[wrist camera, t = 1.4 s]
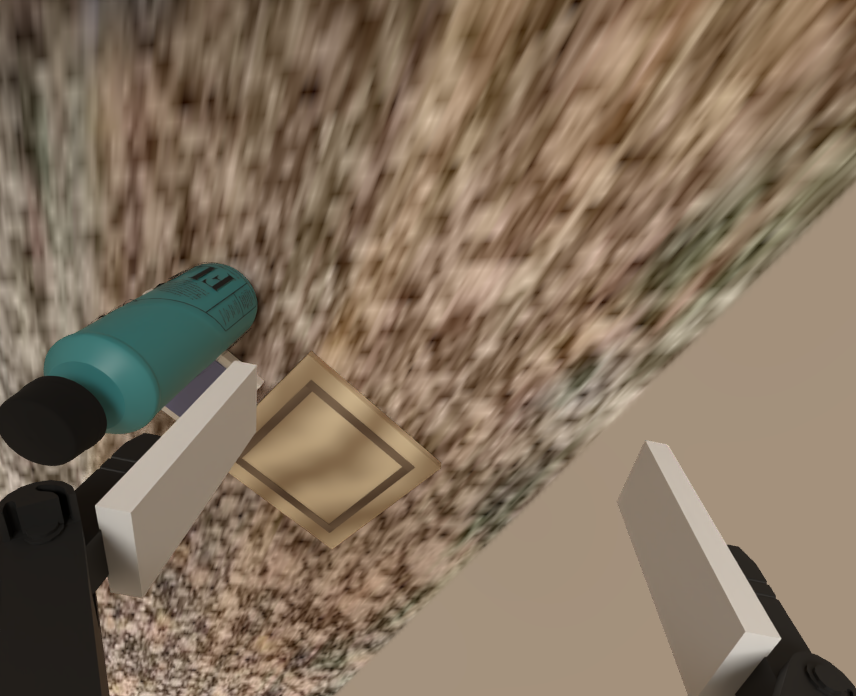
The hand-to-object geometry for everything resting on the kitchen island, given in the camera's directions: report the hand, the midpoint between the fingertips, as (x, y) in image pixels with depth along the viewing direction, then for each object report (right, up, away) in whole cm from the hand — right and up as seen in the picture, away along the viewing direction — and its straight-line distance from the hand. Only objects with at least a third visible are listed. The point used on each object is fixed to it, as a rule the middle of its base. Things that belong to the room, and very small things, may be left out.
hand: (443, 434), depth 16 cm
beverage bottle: (-17, +7, +24) cm, 30 cm away
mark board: (-11, -8, +30) cm, 33 cm away
